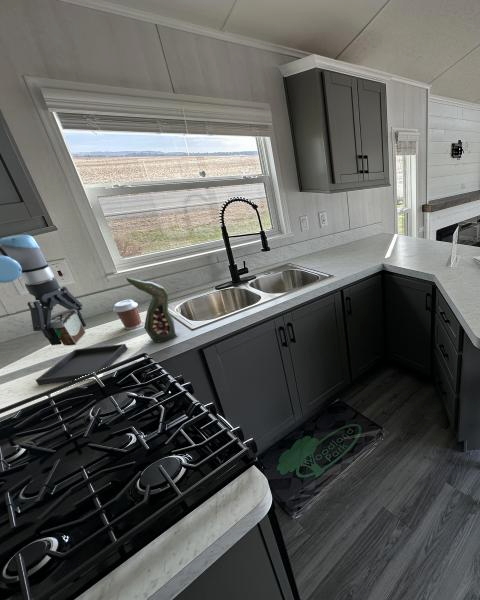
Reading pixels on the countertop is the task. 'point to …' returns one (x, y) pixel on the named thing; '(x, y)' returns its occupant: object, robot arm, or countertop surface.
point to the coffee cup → (128, 313)
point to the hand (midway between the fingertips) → (70, 335)
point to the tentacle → (156, 311)
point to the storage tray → (81, 364)
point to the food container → (67, 327)
